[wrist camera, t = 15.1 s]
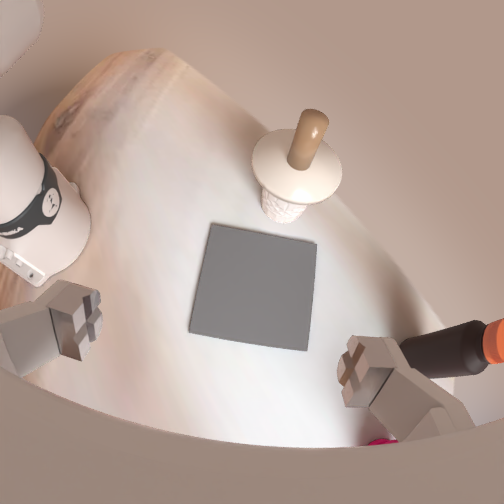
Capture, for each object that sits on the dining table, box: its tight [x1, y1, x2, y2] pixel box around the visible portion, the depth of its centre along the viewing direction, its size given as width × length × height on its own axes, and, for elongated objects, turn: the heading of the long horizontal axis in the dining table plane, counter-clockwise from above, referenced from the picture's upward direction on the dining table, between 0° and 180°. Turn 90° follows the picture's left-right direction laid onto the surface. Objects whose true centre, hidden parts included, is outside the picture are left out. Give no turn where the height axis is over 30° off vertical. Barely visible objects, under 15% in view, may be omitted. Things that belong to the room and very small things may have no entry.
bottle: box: [399, 318, 504, 379], centre depth 31 cm, size 7×7×20 cm
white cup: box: [261, 188, 308, 223], centre depth 43 cm, size 8×8×10 cm
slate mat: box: [189, 225, 317, 351], centre depth 41 cm, size 16×16×1 cm
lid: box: [251, 109, 342, 205], centre depth 34 cm, size 12×12×9 cm
